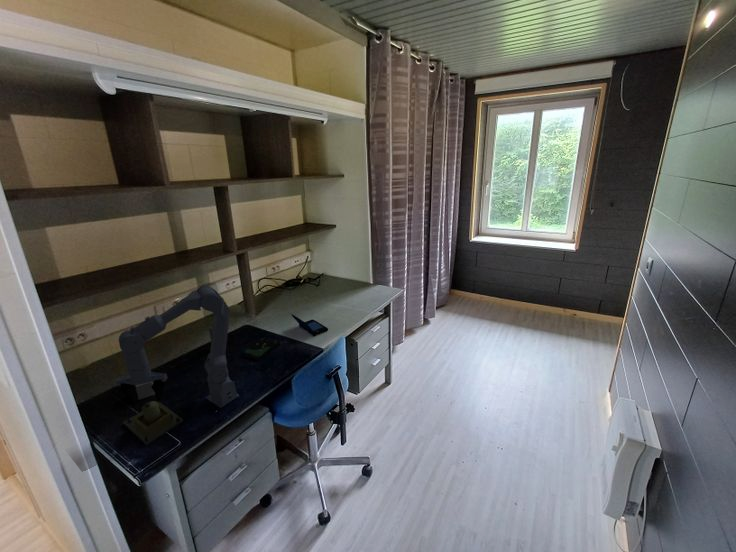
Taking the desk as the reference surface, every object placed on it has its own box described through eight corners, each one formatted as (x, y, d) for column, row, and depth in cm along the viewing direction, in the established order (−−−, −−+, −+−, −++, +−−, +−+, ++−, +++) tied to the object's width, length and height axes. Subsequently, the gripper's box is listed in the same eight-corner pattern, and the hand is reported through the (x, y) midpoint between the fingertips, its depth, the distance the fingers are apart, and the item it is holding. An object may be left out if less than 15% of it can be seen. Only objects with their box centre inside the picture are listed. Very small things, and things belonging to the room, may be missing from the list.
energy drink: (221, 344, 163) (217, 322, 159) (227, 347, 160) (223, 325, 156) (210, 348, 159) (206, 326, 155) (216, 352, 156) (212, 330, 152)
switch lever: (165, 416, 116) (160, 399, 114) (156, 426, 112) (150, 409, 109) (152, 416, 117) (147, 399, 114) (143, 426, 112) (137, 408, 110)
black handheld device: (329, 331, 175) (328, 315, 172) (307, 340, 167) (306, 323, 163) (313, 320, 186) (312, 305, 183) (291, 328, 178) (290, 313, 175)
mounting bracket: (183, 421, 115) (181, 413, 114) (146, 445, 106) (143, 436, 105) (159, 403, 124) (157, 396, 123) (123, 424, 114) (121, 416, 113)
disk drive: (263, 341, 166) (242, 356, 153) (262, 336, 165) (241, 351, 152) (280, 345, 163) (260, 361, 150) (280, 340, 162) (260, 356, 149)
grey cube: (136, 400, 126) (132, 387, 124) (136, 392, 130) (132, 379, 128) (155, 394, 129) (151, 381, 127) (154, 386, 134) (150, 373, 131)
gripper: (167, 356, 111) (175, 389, 116) (120, 360, 109) (130, 394, 114) (157, 369, 104) (167, 403, 109) (107, 373, 103) (119, 408, 107)
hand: (148, 400), depth 111 cm, fingers open, 7 cm apart
